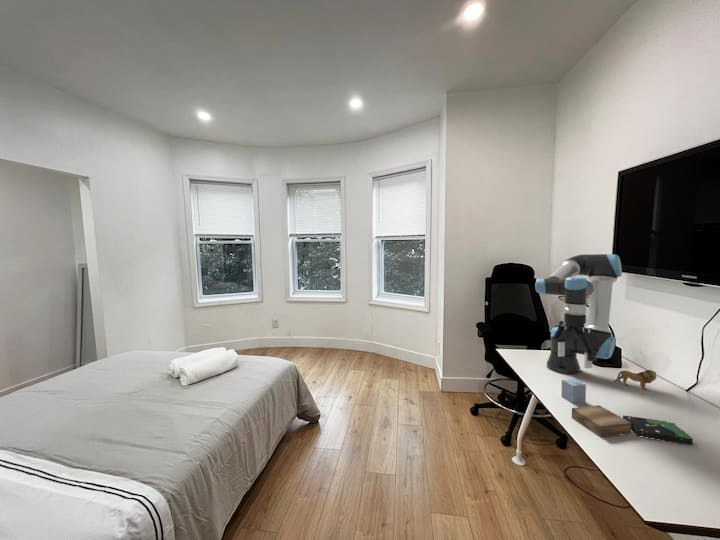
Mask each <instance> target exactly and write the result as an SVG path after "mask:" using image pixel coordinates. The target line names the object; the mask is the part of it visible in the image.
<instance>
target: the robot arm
mask: <svg viewBox="0 0 720 540" xmlns="http://www.w3.org/2000/svg"><path fill="white" fill-rule="evenodd" d="M621 261H622V260H621V258H620V256H619V255H618V254H609V253H604V254H601V253H600V254H598V253H596V254H578V255H574V256H571V257H569V258H566V259H565V260H563V261H562V262H560V264H559V267H558V268H557V269H556V270H555V271H553V273H551V274H550V275H549V276H547V278H544V277H542V278H537V279H536V281H535V284H534V288H535V291H536V293H538V294H541V295H551V296H552V295H553V296H564V317H563V320H559V324H558V326H554V327H552V329H551V330H550V353H549V356H548V359H547V361H546V367H547V369H549V370H551V371H552V372H556V373H560V374H565V375H578V374H580V373H581V366H580V363H579V361H578V358H577V354H578V355H584V369H592V368H593V361H594V358H596V359H603V360H608V359H610V358H611V357H612V355H613V353H614V351H615V346H616V340H617V339H616V337H615V336H613V332H612V331H611V330H610V329H609V325H610V317H611V314H610V312H611V304H612V294H613V285H614V284H615V282H617V281H618V278H621V277H622V276H623V275H622V274H623V271H622V270H623V268H622V262H621ZM576 276H579V277H576ZM582 276H587V277H588V279H587V278H586V277H582ZM587 297H589V302H588V312H587ZM586 314H587V315H586ZM585 325H586V326H585Z"/></svg>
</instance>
